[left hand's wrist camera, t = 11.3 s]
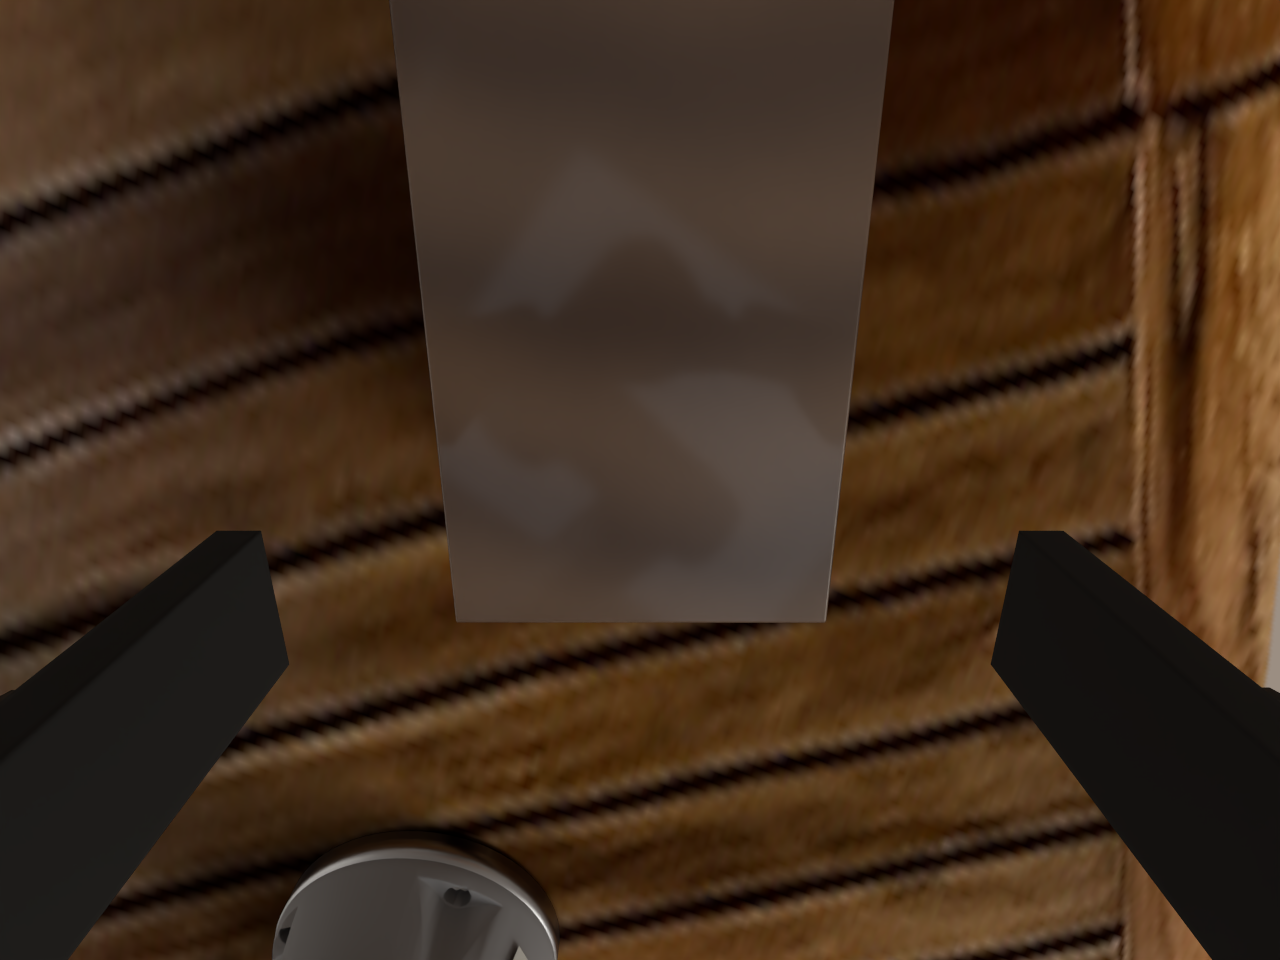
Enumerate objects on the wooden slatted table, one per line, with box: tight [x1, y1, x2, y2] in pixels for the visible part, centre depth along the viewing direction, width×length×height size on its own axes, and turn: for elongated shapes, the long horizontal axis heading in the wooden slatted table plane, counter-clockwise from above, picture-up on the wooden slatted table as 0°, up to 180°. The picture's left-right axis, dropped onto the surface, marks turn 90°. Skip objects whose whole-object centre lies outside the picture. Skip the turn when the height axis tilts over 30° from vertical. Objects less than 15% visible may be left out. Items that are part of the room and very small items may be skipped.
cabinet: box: [389, 0, 894, 623], centre depth 22 cm, size 18×10×12 cm, turn 0°
